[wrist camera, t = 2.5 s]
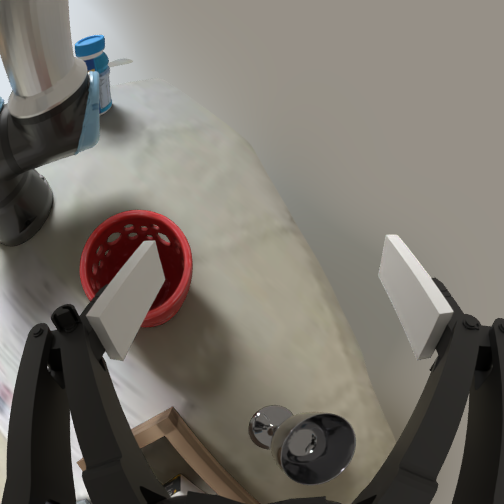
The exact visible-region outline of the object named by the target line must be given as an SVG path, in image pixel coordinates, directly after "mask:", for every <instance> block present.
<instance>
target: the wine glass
mask: <svg viewBox="0 0 504 504" xmlns="http://www.w3.org/2000/svg"><path fill="white" fill-rule="evenodd" d="M249 435H250V437H251V439H252V441H253V442H254V443H255V444H256V445H257V446H259V447H261V448H264V449H271V453H272V456H273V458H274V461H275V462H276V464H277V466H278V467H279V468H280V469H281V470H282V472H283V473H285V474H286V475H287V476H288V477H289V478H291V479H292V480H294V481H295V482H297V483H300V484H303V485H318V484H323V483H325V482H328V481H330V480H332V479H334V478H335V477H337V476H338V475H339V474H340V473H341V472H342V471H343V470H344V469H345V468H346V467H347V466H348V464H349V463H350V461H351V459H352V457H353V455H354V452H355V447H356V438H355V433H354V430H353V428H352V426H351V425H350V424H349V422H348V421H347V420H345V419H344V418H342V417H340V416H338V415H335V414H330V413H324V412H306V413H300V414H297V415H293V414H292V413H291V412H290V411H289V410H288V409H287V408H285V407H282V406H278V405H271V406H267V407H264V408H262V409H260V410H259V411H258V412H256V413H255V414H254V416H253V417H252V419H251V421H250V424H249Z"/></svg>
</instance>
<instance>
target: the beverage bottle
mask: <svg viewBox="0 0 504 504" xmlns="http://www.w3.org/2000/svg"><path fill="white" fill-rule="evenodd" d="M104 48H105V38H104V36H103V35H94V36H90V37H86V38H84V39H81V40H80V41H78V42H77V43H76V44H75V53H76V56H77V57H78V58H80V59H82V60H83V61H84V62H85V63H86V66H87V70H88V72H90V71H93V72H94V71H96V72H98V73H99V116H100V115H102V114H104V113H106V112H107V111H108V110H109V109H110V108H111V106H112V99H111V93H110V82H109V73H110V68H109V66H108V62H109V60H108V57H107V55H106V54H105V53H104V52H103V50H104Z"/></svg>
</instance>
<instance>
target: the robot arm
mask: <svg viewBox="0 0 504 504" xmlns="http://www.w3.org/2000/svg"><path fill="white" fill-rule="evenodd" d="M0 55H1V58H2V61H3V64H4V67H5V70H6V73H7V76H8V79H9V82H10V84H11V87H12V89H13V90H12V92H11V94H10V96H9V99H8V103H7V104H4V100H3V99H2V98H1V97H0V242H1V243H2V244H4V245H7V246H15V245H19V244H21V243H23V242H25V241H27V240H28V239H30V238H31V237H32V236H33V235H34V234H35V233H36V232H37V231H38V230H39V229H40V228H41V226H42V225H43V224H44V222H45V220H46V219H47V217H48V215H49V212H50V209H51V206H52V199H53V196H52V190H51V188H50V186H49V184H48V182H47V180H46V179H45V178H44V177H43V176H42V175H41V174H39V173H38V172H37V171H36V170H35V169H34V168H37V167H40V166H42V165H45V164H48V163H51V162H54V161H57V160H59V159H62V158H66V157H69V156H72V155H76V154H78V153H79V152H81V151H84V150H87V149H89V148H92V147H93V146H95V145H96V144H97V142H98V140H99V136H100V123H99V73H98V72H96V71H94V72H93V71H90V72H88V70H87V66H86V63H85V62H84V61H83V60H82V59H80V58H76V57H74V56H73V49H72V41H71V32H70V21H69V6H68V0H0ZM378 276H379V278H380V280H381V282H382V284H383V286H384V288H385V290H386V292H387V294H388V296H389V298H390V300H391V303H392V304H393V307H394V309H395V311H396V313H397V315H398V317H399V319H400V322H401V324H402V326H403V328H404V331H405V333H406V335H407V338H408V340H409V342H410V345H411V347H412V349H413V352H414V354H415V357H416V359H417V360H421V359H426V358H431V356H432V354H433V352H434V351H435V349H436V350H437V352H438V357H437V358H436V360H435V362H434V364H433V365H432V367H431V369H430V371H431V374H430V376H429V378H428V381H427V383H426V386H425V388H424V390H423V393H422V395H421V397H420V399H419V401H418V403H417V406H416V407H415V410H414V412H413V414H412V416H411V418H410V419H409V421H408V424H407V425H406V427H405V429H404V431H403V433H402V434H401V436H400V438H399V440H398V441H397V443H396V445H395V446H394V448H393V450H392V451H391V453H390V455H389V456H388V458H387V459H386V461H385V462H384V464H383V465H382V467H381V468H380V470H379V471H378V473H377V474H376V476H375V477H374V478H373V480H372V481H371V482H370V484H369V485H368V486H367V487H366V488H365V489H364V490H363V491H362V492H361V493H360V494H359V495H358V497H357V498H356V499H355V500H354V501H353V502H352V504H430V502H431V501H432V498H433V497H434V495H435V493H436V491H437V488H438V483H437V482H436V478H437V476H438V473H439V471H440V469H441V467H442V465H443V463H444V461H445V459H446V456H447V454H448V452H449V449H450V447H451V445H452V442H453V440H454V437H455V435H456V432H457V429H458V426H459V423H460V421H461V417H462V415H463V412H464V408H465V405H466V402H467V398H468V395H469V394H470V395H469V413H468V424H467V433H466V441H465V447H464V454H463V459H462V465H461V470H460V474H459V479H458V483H457V486H456V490H455V494H454V497H453V501H452V504H504V319H502V318H498V319H496V320H495V321H494V323H493V325H492V326H491V327H490V326H482V325H481V324H480V322H479V321H478V320H477V319H476V318H475V317H473V316H472V315H468V314H464V313H463V312H462V310H461V309H460V307H459V306H458V305H457V303H456V301H455V300H454V298H453V297H451V294H450V293H449V292H448V290H447V289H446V287H445V286H444V285H443V283H442V282H440V281H439V280H438V279H436V278H430V276H429V275H428V273H427V272H426V271H425V269H424V268H423V267H422V265H421V264H420V263H419V262H418V260H417V259H416V257H415V256H414V255H413V254H412V252H411V251H410V250H409V248H408V247H407V246H406V245H405V243H404V242H403V241H402V240H401V239H400V237H399V236H398V235H386V236H385V243H384V248H383V254H382V259H381V265H380V269H379V274H378ZM164 281H165V276H164V273H163V269H162V265H161V262H160V258H159V254H158V250H157V246H156V242H155V240H153V241H143V243H142V244H141V245H140V246H139V247H138V248H137V250H136V251H135V252H134V253H133V255H132V256H131V257H130V258H129V259H128V261H127V262H126V263H125V264H124V266H123V267H122V268H121V269H120V271H119V272H118V273H117V274H116V276H115V277H114V278H113V280H112V281H111V282H110V283H109V284H106V285H105V286H103V287H102V288H101V289H100V290H99V291H98V292H97V293H96V295H95V297H93V299H92V300H91V302H90V303H89V304H88V305H87V307H86V308H85V309H84V311H83V312H82V313H81V315H80V316H79V315H78V313H77V311H76V309H75V307H74V306H73V305H71V304H66V305H62V306H61V307H59V308H57V309H56V310H55V311H54V312H53V314H52V316H51V320H52V321H53V323H54V325H55V326H56V328H57V330H54V331H50V329H49V327H48V326H47V324H45V323H40V324H37V325H35V326H34V327H33V328H32V329H31V330H30V332H29V334H28V337H27V341H26V344H25V347H24V351H23V355H22V358H21V362H20V366H19V370H18V375H17V379H16V384H15V389H14V394H13V400H12V406H11V413H10V421H9V430H8V442H7V479H6V484H5V488H4V493H3V498H2V503H1V504H76V496H75V488H74V481H73V472H72V461H71V446H70V412H71V416H72V420H73V424H74V428H75V432H76V435H77V439H78V442H79V446H80V449H81V452H82V455H83V458H84V461H85V464H86V470H84V471H83V472H82V478H83V482H84V484H85V487H86V489H87V492H88V494H89V497H90V499H91V501H92V504H245V503H242V502H238V501H235V500H232V499H229V498H226V497H223V496H219V495H211V494H204V493H198V492H192V491H188V492H187V495H181V496H175V497H171V496H170V495H169V493H168V492H167V490H166V489H165V488H164V487H163V485H162V484H161V483H160V482H159V481H158V480H157V479H156V477H155V476H154V474H153V472H152V470H151V469H150V467H149V465H148V463H147V461H146V459H145V457H144V455H143V454H142V452H141V450H140V448H139V446H138V443H137V441H136V439H135V437H134V435H133V433H132V431H131V428H130V426H129V424H128V422H127V419H126V417H125V415H124V412H123V410H122V407H121V405H120V402H119V400H118V397H117V394H116V392H115V389H114V386H113V383H112V380H111V378H110V375H109V372H108V369H107V365H106V362H105V360H104V358H103V357H102V356H103V354H104V352H105V351H106V352H107V354H108V356H109V357H110V359H115V360H120V361H124V358H125V356H126V354H127V352H128V350H129V348H130V346H131V344H132V342H133V340H134V338H135V336H136V334H137V332H138V330H139V328H140V326H141V324H142V322H143V320H144V318H145V317H146V315H147V313H148V311H149V309H150V307H151V305H152V303H153V301H154V300H155V298H156V296H157V294H158V292H159V290H160V288H161V287H162V285H163V283H164ZM47 366H48V368H47ZM270 504H341V503H338V502H334V501H329V500H326V496H323V497H312V498H296V499H288V500H284V501H279V502H275V503H270Z"/></svg>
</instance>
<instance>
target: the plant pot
mask: <svg viewBox="0 0 504 504" xmlns="http://www.w3.org/2000/svg"><path fill="white" fill-rule="evenodd" d="M128 224H132V225H133V226H132V227H129V228H125V227H124V226H126V225H128ZM153 224H154V225H153ZM155 225H157V226H158V227H157V226H155ZM141 226H146V227H147V228H142V227H141ZM116 232H119V233H121V234H120V236H119V238H117V239H116V240H115V241H113V242H107V240H108V237H109V236H110V235H111V234H113V233H116ZM130 233H137V235H136V236H134V237H129V236H128V235H129V234H130ZM158 233H162V234H164V235H166V236H167V237H168V239H169V241H170V243H168V242H166V241H164V240H163V239H162V238H160V236H159V235H158ZM147 235H151V236H153V237H148V236H147ZM153 240H155V242H156V246H157V250H158V254H159V258H160V262H161V265H162V269H163V273H164V276H165V281H164V283H163V285H162V287H161V288H160V290H159V292H158V294H157V296H156V298H155V300H154V301H153V303H152V305H151V307H150V309H149V311H148V313H147V315H146V317H145V318H144V320H143V322H142V324H141V326H140V327H155V326H158V325H161V324H163V323H165V322H167V321H169V320H170V319H171V318H172V317H173V316H174V315H175V314H176V313H177V312H178V311H179V309H180V307H181V306H182V304H183V302H184V300H185V298H186V296H187V294H188V291H189V288H190V284H191V278H192V269H193V263H192V253H191V249H190V246H189V243H188V241H187V239H186V237H185V235H184V234H183V232H182V231H181V229H180V228H179V227H178V226H177V225H176V224H175V223H174V222H173V221H171V220H170V219H168V218H167V217H165V216H163V215H161V214H158V213H155V212H151V211H146V210H130V211H125V212H121V213H119V214H116V215H114V216H112V217H110V218H108V219H107V220H105V221H104V222H102V223H101V224H100V225H99V226H98V227H97V228H96V229H95V230H94V231H93V233H92V234H91V235H90V237H89V238H88V240H87V242H86V244H85V246H84V249H83V252H82V255H81V260H80V279H81V283H82V287H83V289H84V292H85V294H86V296H87V297H88V299H89V300H90V302H91V300H92V299H93V297H95V295H96V293H97V292H98V291H99V290H100V289H101V288H102V287H103V286H105V285H106V284H109V283H110V282H111V281H112V280H113V278H114V277H115V276H116V274H117V273H118V272H119V271H120V269H121V268H122V267H123V266H124V264H125V263H126V262H127V261H128V259H129V258H130V257H131V256H132V255H133V253H134V252H135V251H136V250H137V248H138V247H139V246H140V245H141V244H142V243H143V241H153ZM99 246H100V249H99V251H98V252H97V253H96V251H97V249H98V248H99ZM107 250H108V253H107V254H106V255H105V252H106V251H107ZM99 261H100V265H99ZM92 266H93V267H94V269H93V272H92Z"/></svg>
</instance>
